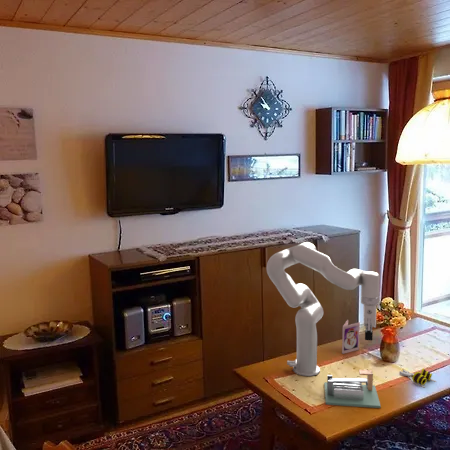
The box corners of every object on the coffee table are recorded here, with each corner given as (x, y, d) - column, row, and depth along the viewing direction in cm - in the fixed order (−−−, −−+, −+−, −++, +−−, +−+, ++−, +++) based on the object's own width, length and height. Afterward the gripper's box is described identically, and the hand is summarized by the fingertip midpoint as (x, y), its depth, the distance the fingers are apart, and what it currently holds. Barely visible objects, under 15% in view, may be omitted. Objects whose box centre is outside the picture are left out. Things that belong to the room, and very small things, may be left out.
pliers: (424, 385, 222) (395, 373, 234) (424, 388, 222) (394, 376, 234) (436, 379, 228) (407, 367, 240) (436, 382, 228) (407, 370, 240)
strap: (329, 385, 215) (328, 380, 215) (328, 382, 218) (328, 377, 218) (367, 385, 213) (367, 380, 212) (366, 382, 216) (366, 377, 215)
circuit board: (325, 404, 209) (325, 402, 209) (324, 384, 227) (324, 382, 226) (380, 408, 206) (380, 405, 205) (374, 387, 223) (374, 385, 223)
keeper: (359, 389, 219) (359, 373, 218) (358, 385, 223) (358, 369, 222) (372, 390, 218) (372, 374, 217) (371, 385, 222) (371, 370, 221)
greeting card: (343, 354, 259) (343, 326, 256) (333, 349, 265) (334, 322, 263) (360, 350, 264) (360, 322, 262) (350, 345, 270) (351, 318, 268)
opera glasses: (421, 388, 224) (424, 378, 222) (410, 382, 227) (413, 372, 226) (431, 381, 230) (434, 371, 229) (420, 375, 234) (423, 366, 232)
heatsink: (327, 397, 213) (328, 383, 212) (327, 386, 222) (327, 372, 221) (363, 399, 210) (363, 385, 209) (360, 388, 220) (361, 374, 219)
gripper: (378, 305, 212) (377, 346, 215) (378, 295, 226) (377, 334, 229) (360, 304, 214) (359, 345, 217) (361, 294, 228) (360, 332, 231)
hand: (368, 339), depth 223 cm, fingers closed
